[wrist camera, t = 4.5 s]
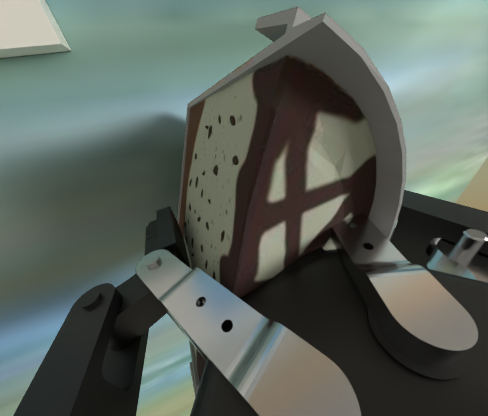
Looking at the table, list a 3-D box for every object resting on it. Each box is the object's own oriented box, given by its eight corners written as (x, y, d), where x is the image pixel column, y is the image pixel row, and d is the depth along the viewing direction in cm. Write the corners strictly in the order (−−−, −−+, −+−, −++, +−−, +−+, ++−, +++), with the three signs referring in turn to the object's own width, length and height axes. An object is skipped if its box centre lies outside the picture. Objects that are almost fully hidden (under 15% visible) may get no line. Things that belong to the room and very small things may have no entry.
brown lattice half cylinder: (241, 247, 18) (315, 366, 10) (173, 253, 15) (198, 427, 7) (280, 105, 13) (496, 106, 5) (190, 73, 10) (346, -54, 2)
